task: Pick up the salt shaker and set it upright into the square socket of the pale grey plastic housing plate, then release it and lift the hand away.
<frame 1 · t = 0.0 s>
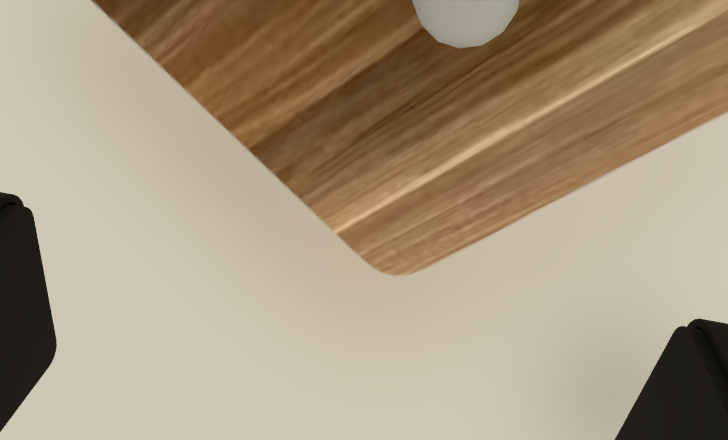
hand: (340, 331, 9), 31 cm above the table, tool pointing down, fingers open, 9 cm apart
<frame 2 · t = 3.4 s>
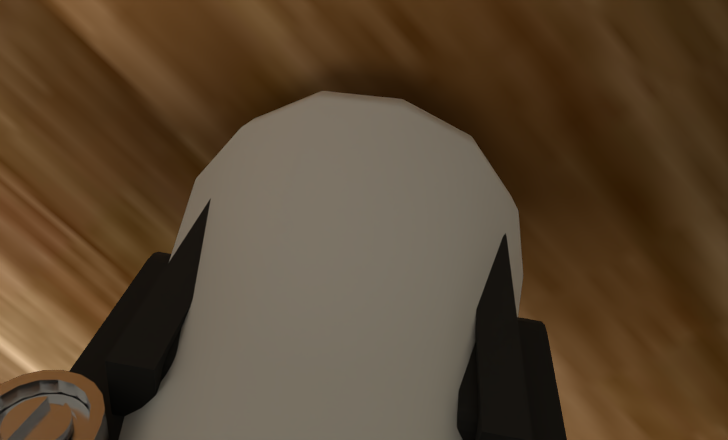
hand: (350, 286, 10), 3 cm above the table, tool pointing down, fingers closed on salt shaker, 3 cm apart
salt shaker: (369, 184, 13), on the table, touching gripper
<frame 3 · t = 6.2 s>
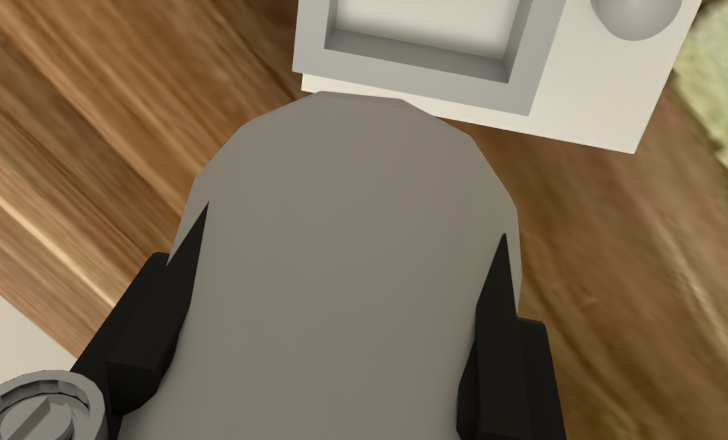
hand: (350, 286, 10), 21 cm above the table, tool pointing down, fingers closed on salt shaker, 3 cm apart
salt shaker: (368, 184, 13), point 17 cm above the table, touching gripper
when the fingers open (5 cm above the table, at t = 9.2 s): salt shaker stays where it is, resting on housing.
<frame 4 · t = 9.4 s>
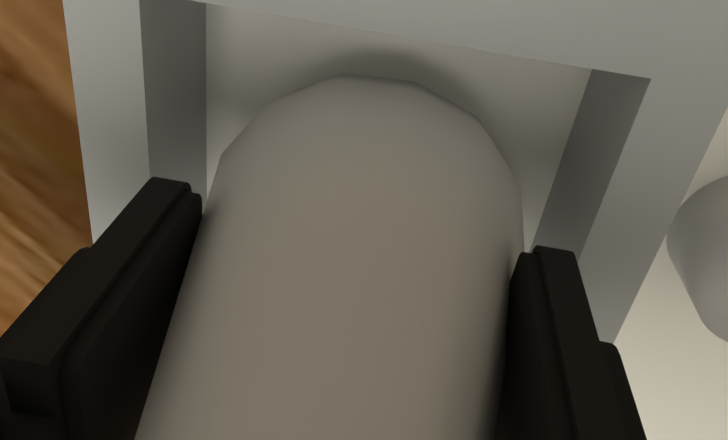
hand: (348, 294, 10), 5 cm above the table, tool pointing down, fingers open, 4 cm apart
housing: (507, 170, 14), on the table
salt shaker: (380, 165, 14), point 1 cm above the table, touching housing
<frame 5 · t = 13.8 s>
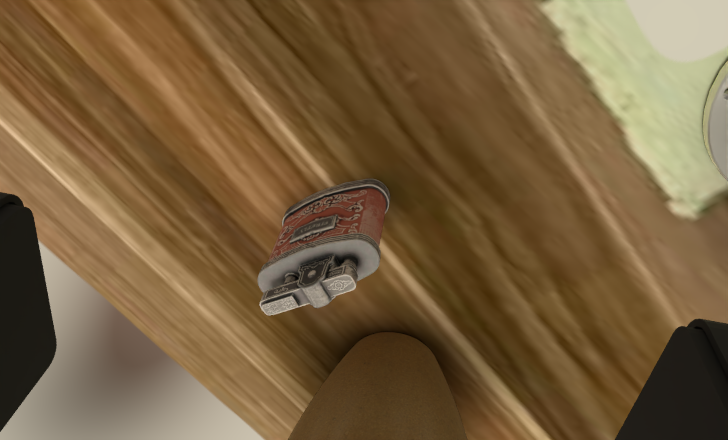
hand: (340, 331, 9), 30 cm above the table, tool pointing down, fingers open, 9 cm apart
lighter: (336, 206, 44), on the table
plant pot: (389, 362, 52), on the table
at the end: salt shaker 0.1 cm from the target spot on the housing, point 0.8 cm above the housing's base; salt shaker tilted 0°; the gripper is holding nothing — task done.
